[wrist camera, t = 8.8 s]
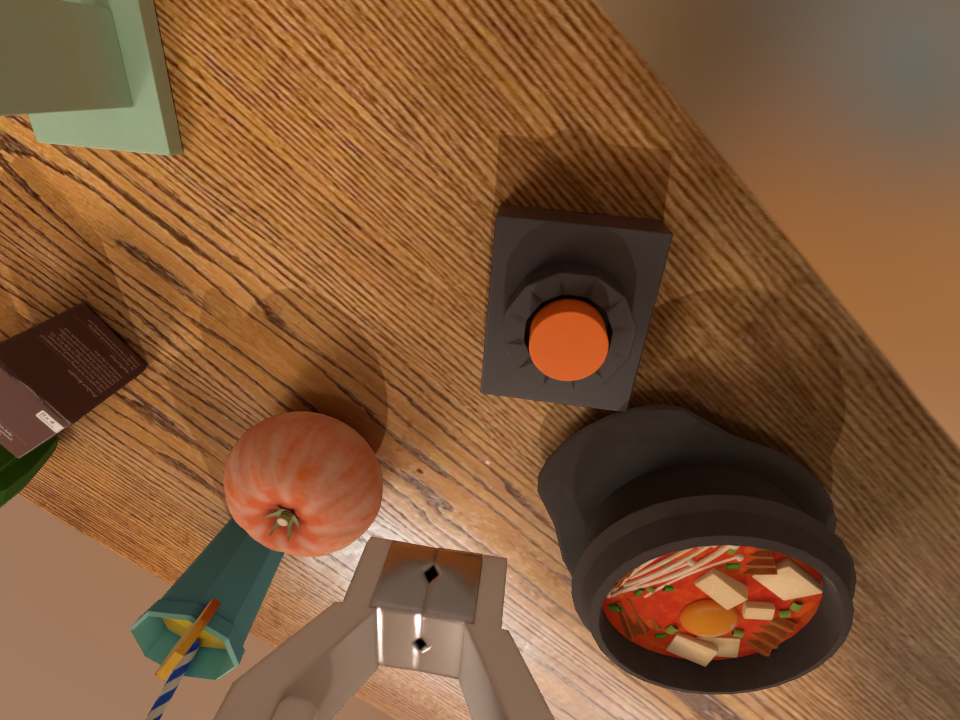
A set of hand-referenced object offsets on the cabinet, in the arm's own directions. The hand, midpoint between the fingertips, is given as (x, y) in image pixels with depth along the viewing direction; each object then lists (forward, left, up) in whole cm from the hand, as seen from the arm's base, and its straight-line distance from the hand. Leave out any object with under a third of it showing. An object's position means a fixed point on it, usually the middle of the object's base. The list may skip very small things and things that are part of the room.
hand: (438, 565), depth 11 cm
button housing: (+2, +4, -22) cm, 22 cm away
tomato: (+16, -12, -22) cm, 30 cm away
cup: (+27, -19, -22) cm, 40 cm away
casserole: (+18, +15, -22) cm, 32 cm away
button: (+2, +4, -18) cm, 18 cm away
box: (+10, -29, -22) cm, 38 cm away
